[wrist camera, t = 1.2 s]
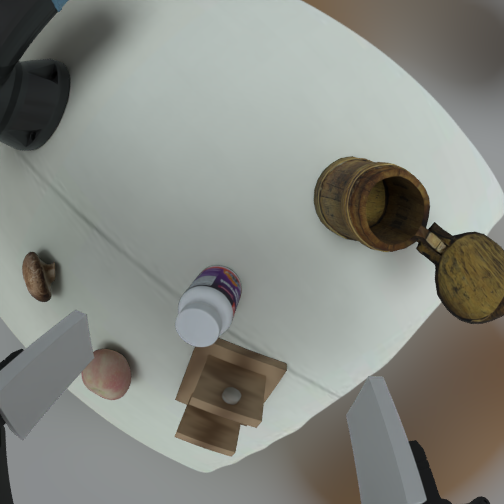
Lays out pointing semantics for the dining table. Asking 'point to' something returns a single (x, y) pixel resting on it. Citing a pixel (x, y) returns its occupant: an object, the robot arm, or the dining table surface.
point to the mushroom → (38, 276)
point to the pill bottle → (208, 306)
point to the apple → (107, 374)
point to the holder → (224, 394)
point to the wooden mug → (412, 232)
